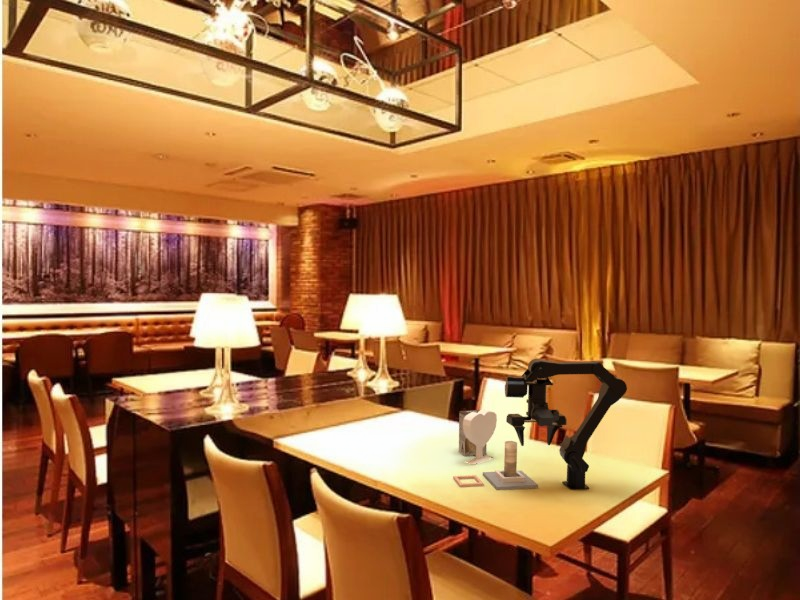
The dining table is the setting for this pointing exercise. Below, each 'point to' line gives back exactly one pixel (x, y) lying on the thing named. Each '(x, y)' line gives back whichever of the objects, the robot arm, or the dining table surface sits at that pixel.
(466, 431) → the heart sculpture
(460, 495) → the dining table surface
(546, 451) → the dining table surface
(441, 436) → the dining table surface
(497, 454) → the dining table surface
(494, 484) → the board
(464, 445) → the coffee box
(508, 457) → the birch pin
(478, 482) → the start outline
